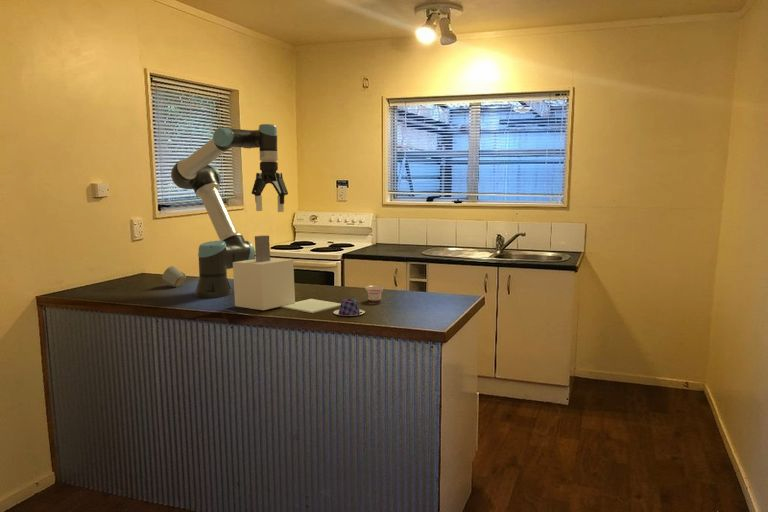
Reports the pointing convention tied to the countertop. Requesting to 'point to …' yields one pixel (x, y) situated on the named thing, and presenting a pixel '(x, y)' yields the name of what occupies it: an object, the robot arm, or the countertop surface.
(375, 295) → the teacup
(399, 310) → the countertop surface
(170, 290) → the countertop surface
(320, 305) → the mat
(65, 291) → the countertop surface
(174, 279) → the ceramic mug
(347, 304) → the pudding
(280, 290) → the cover
